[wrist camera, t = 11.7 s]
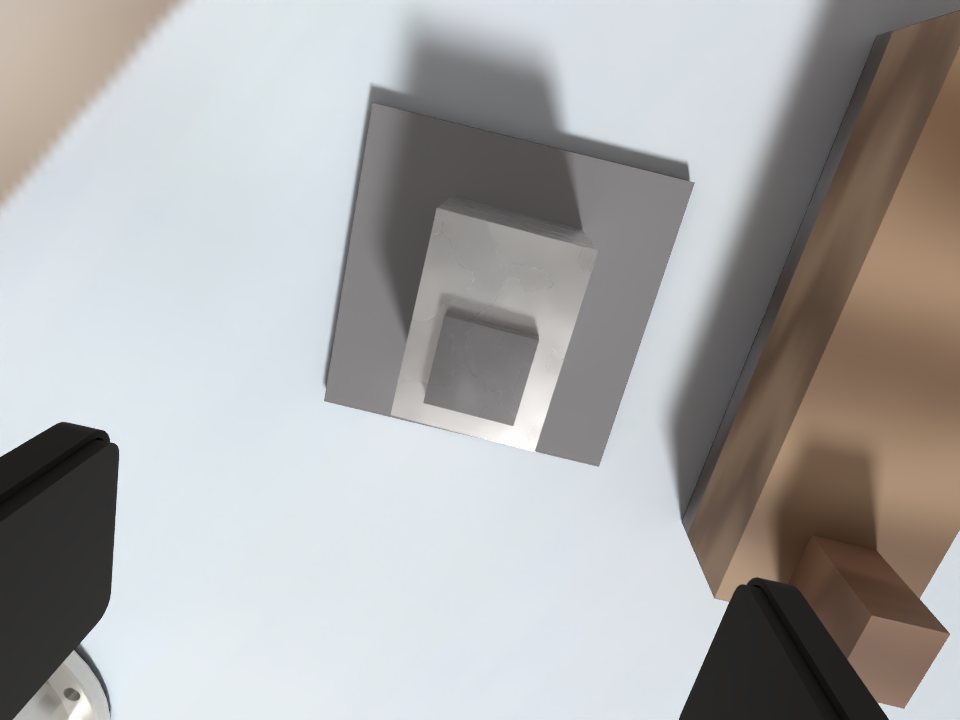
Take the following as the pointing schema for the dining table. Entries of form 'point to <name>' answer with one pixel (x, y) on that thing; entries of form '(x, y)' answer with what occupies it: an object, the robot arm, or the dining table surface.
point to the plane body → (857, 381)
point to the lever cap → (492, 321)
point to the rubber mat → (521, 188)
